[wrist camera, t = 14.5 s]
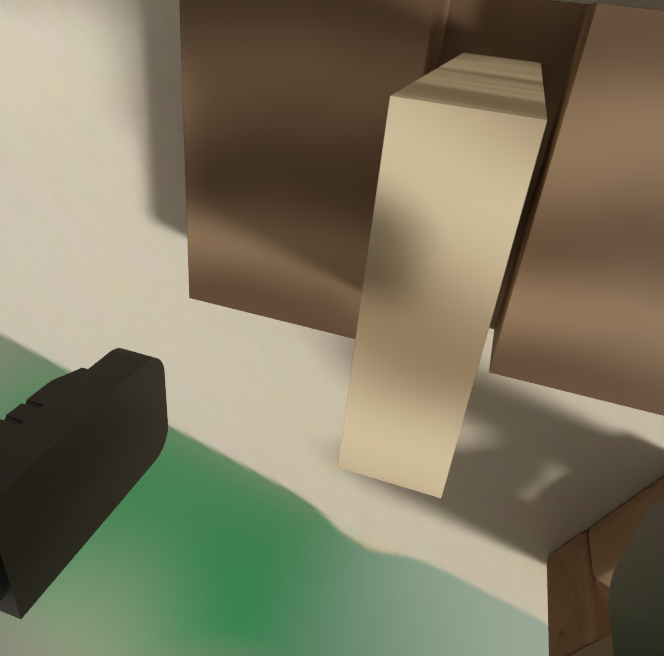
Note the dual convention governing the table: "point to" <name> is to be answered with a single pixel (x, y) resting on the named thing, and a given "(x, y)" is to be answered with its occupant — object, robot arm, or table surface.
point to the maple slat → (437, 261)
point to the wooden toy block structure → (591, 580)
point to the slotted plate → (365, 158)
